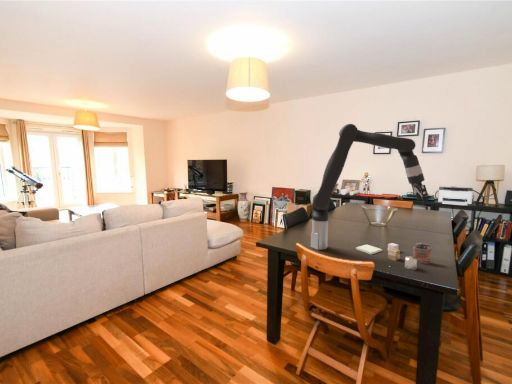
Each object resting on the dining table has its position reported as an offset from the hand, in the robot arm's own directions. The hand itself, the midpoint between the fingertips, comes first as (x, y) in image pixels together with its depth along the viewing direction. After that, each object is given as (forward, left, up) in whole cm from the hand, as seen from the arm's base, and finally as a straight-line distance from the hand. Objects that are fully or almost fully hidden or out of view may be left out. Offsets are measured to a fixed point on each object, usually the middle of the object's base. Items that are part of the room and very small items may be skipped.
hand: (422, 201), depth 140 cm
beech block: (-20, +3, -30) cm, 36 cm away
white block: (-9, +10, -30) cm, 33 cm away
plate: (-20, +18, -30) cm, 40 cm away
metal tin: (-24, -8, -30) cm, 39 cm away
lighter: (-12, -7, -30) cm, 33 cm away
